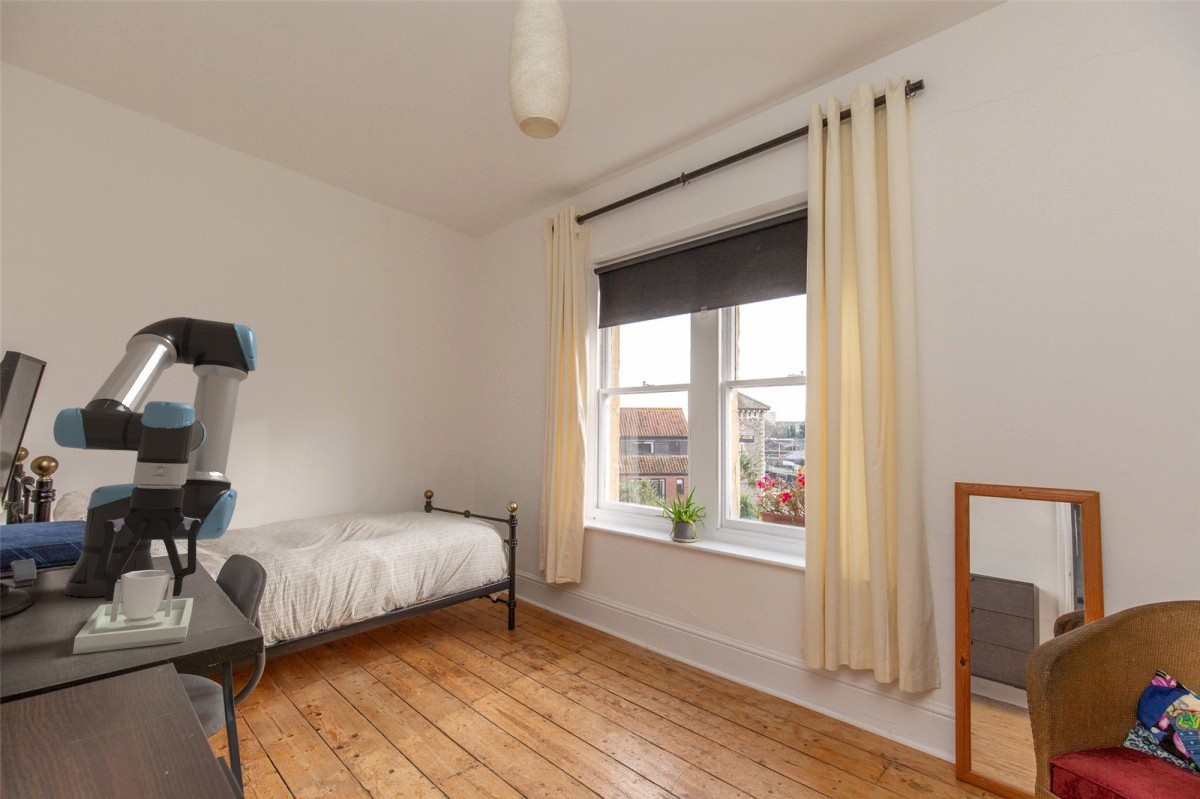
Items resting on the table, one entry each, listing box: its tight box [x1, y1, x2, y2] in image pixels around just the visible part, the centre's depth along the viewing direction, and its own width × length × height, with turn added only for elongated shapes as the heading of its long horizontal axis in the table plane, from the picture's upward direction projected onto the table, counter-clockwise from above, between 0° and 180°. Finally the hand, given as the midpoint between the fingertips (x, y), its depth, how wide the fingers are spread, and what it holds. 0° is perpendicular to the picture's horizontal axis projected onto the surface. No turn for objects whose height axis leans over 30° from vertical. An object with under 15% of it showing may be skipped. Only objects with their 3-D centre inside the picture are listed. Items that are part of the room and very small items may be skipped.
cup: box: [121, 569, 172, 625], centre depth 98 cm, size 7×10×8 cm
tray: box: [72, 597, 194, 655], centre depth 97 cm, size 20×14×2 cm
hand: (141, 617), depth 97 cm, fingers closed on cup, 7 cm apart
